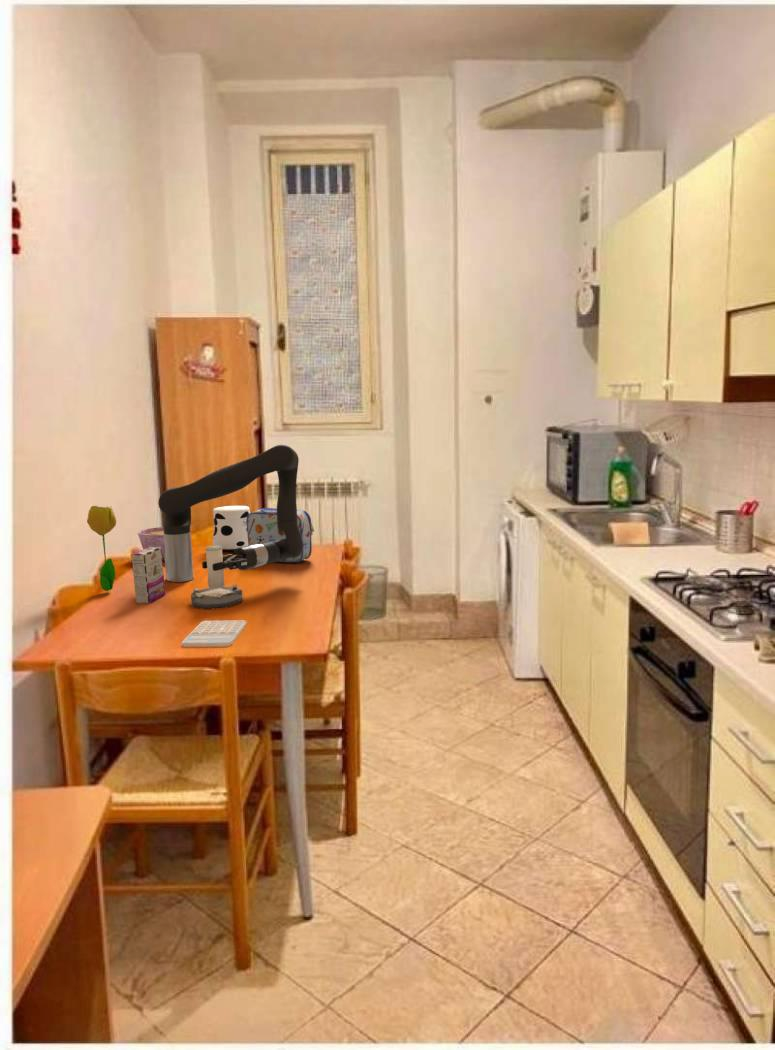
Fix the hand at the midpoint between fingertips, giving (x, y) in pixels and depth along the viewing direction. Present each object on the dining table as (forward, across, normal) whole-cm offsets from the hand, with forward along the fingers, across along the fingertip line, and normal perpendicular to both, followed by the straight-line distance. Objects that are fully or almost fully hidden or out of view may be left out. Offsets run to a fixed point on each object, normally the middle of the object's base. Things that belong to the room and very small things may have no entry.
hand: (208, 566), depth 240 cm
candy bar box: (+9, -21, +12) cm, 26 cm away
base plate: (-2, 0, +12) cm, 12 cm away
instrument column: (-3, 0, +7) cm, 7 cm away
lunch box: (-57, -31, +13) cm, 66 cm away
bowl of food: (-32, -75, +12) cm, 82 cm away
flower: (+12, -41, +12) cm, 45 cm away
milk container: (-60, -66, +13) cm, 90 cm away
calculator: (+19, +28, +13) cm, 36 cm away
